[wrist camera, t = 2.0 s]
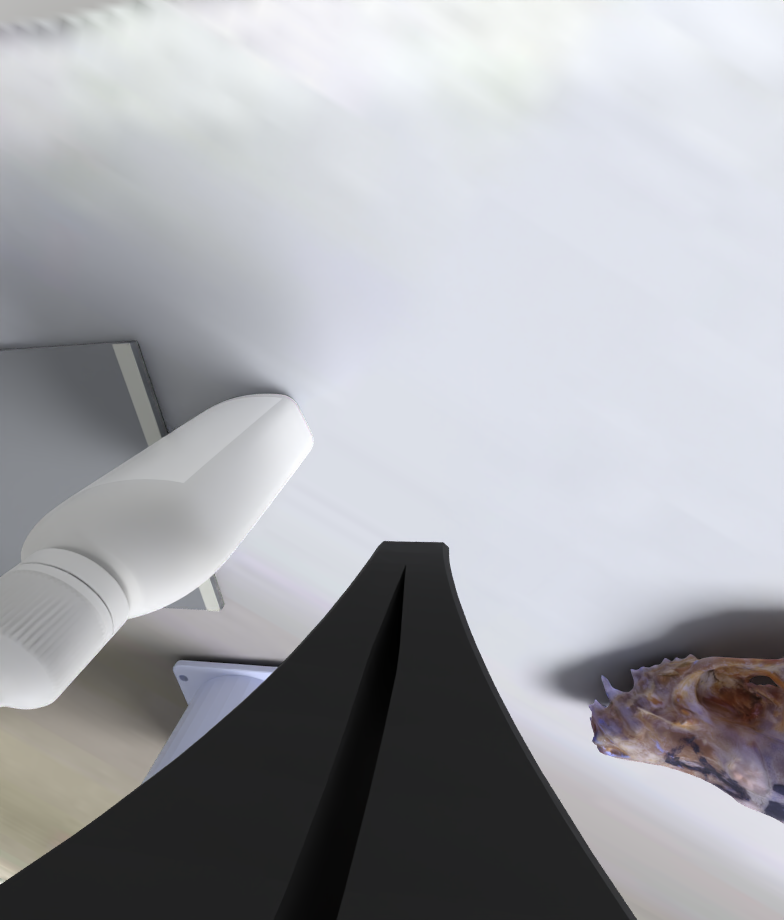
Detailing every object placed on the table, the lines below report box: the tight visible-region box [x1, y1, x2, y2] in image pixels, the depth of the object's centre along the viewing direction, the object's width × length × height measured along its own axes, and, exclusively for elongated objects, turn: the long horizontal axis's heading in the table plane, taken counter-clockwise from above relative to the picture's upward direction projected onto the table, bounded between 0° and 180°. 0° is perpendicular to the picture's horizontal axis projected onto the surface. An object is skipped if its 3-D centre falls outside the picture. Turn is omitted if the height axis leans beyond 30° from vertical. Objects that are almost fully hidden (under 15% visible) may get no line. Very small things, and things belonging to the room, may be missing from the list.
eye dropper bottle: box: [0, 394, 314, 709], centre depth 12 cm, size 4×6×12 cm
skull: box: [589, 654, 784, 823], centre depth 17 cm, size 12×8×6 cm, turn 98°
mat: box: [0, 341, 224, 611], centre depth 20 cm, size 13×16×1 cm
